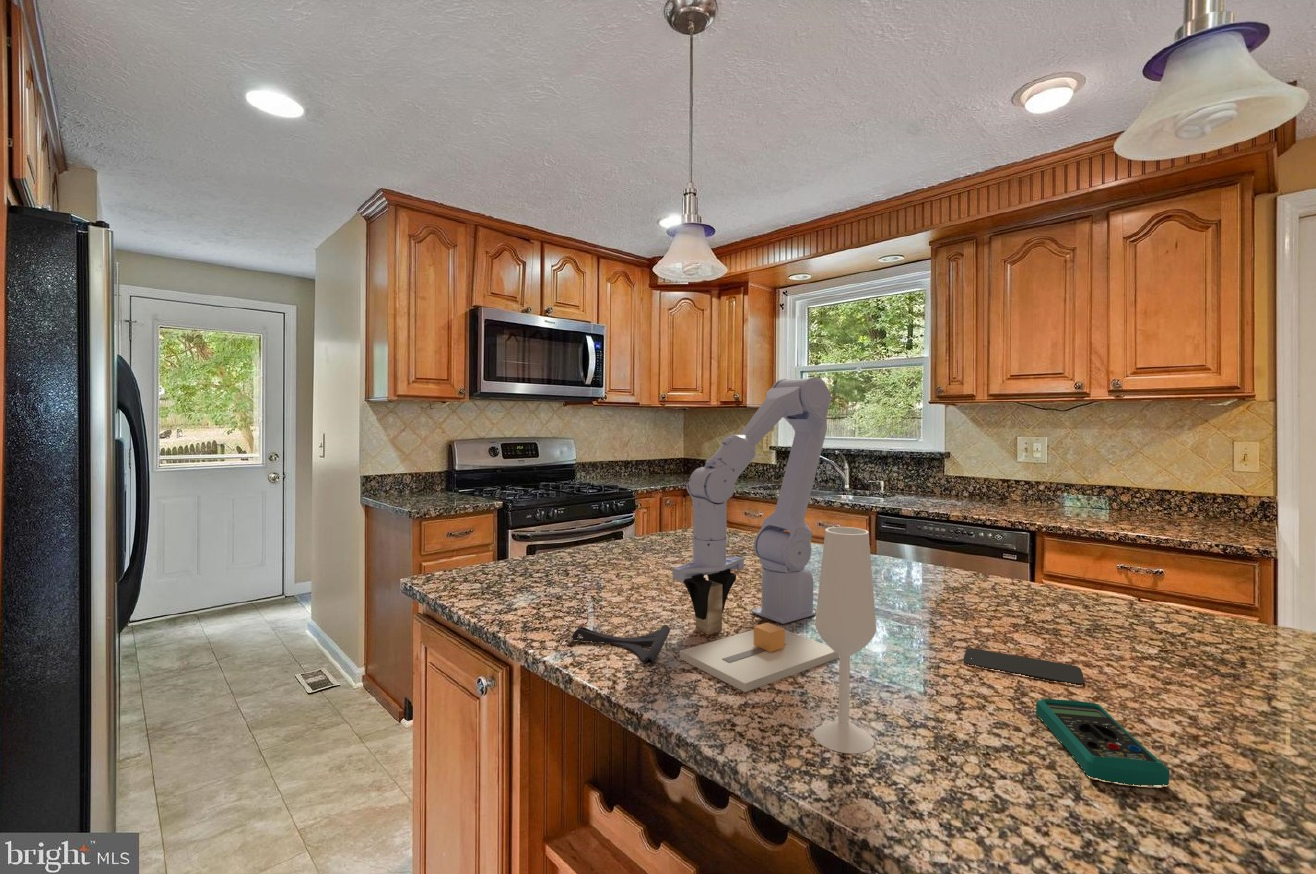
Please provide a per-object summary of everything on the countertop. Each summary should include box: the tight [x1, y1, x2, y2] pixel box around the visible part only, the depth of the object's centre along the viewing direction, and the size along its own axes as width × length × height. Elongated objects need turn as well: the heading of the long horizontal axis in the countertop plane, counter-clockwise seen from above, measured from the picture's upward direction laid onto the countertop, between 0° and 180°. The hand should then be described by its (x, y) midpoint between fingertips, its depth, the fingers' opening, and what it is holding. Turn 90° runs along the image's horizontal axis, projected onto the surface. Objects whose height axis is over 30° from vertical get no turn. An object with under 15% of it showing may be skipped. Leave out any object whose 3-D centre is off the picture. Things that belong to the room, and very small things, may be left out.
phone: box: [963, 647, 1085, 685], centre depth 91 cm, size 7×1×15 cm
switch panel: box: [679, 629, 839, 693], centre depth 94 cm, size 20×14×1 cm
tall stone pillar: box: [695, 580, 723, 635], centre depth 106 cm, size 3×3×8 cm
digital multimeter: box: [1035, 698, 1170, 786], centre depth 69 cm, size 7×15×3 cm, turn 168°
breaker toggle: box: [753, 622, 786, 652], centre depth 95 cm, size 3×4×3 cm
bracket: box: [572, 624, 671, 665], centre depth 100 cm, size 14×15×3 cm
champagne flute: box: [813, 526, 877, 755], centre depth 71 cm, size 7×7×24 cm
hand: (709, 615), depth 106 cm, fingers closed on tall stone pillar, 3 cm apart
